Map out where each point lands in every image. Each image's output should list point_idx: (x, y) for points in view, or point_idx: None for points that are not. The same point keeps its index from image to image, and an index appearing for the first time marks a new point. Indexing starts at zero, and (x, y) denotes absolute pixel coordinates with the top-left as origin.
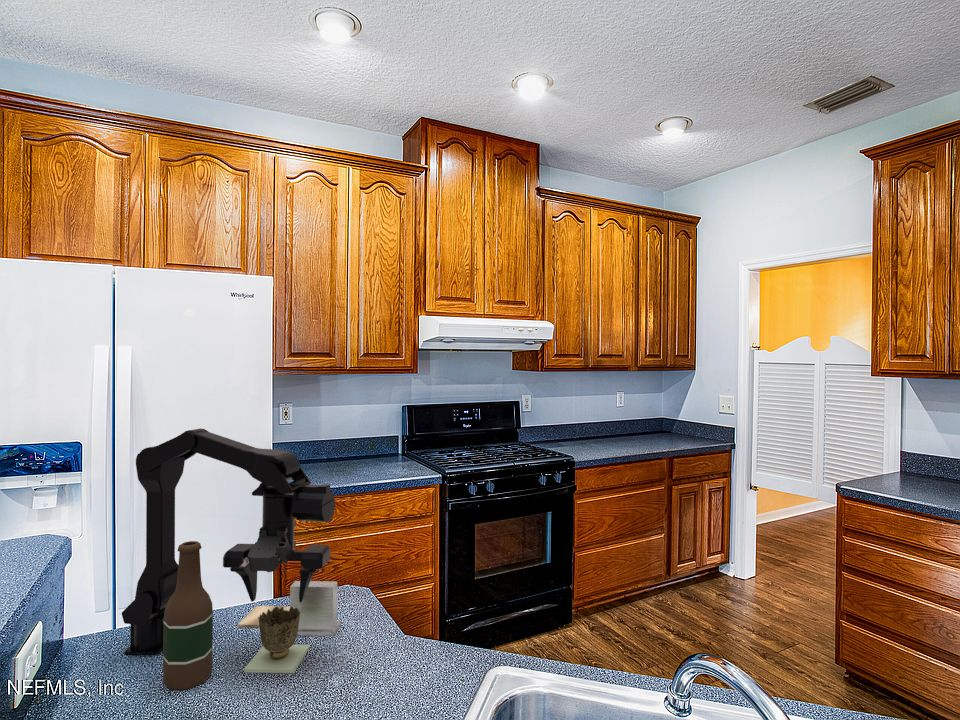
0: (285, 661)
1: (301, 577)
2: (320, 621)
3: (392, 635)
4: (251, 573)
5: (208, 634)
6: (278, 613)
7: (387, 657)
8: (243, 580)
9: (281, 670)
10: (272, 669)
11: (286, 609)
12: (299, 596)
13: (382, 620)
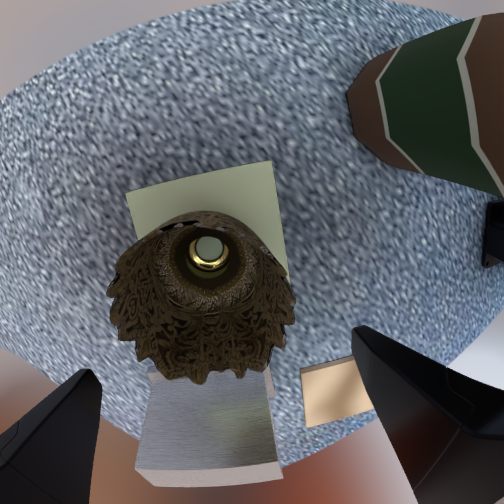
0: None
1: (2, 463)
2: (180, 390)
3: (52, 375)
4: (447, 461)
5: (420, 103)
6: (247, 353)
7: (8, 304)
8: (480, 384)
9: (158, 184)
10: (183, 178)
11: (319, 417)
12: (71, 385)
13: (106, 417)
